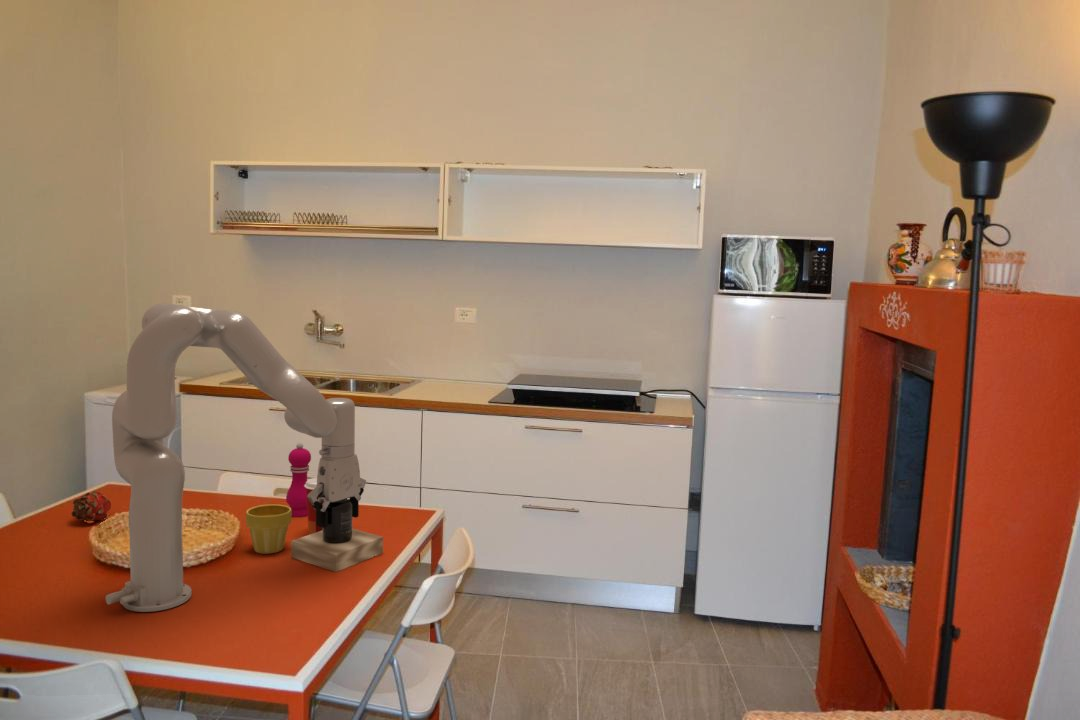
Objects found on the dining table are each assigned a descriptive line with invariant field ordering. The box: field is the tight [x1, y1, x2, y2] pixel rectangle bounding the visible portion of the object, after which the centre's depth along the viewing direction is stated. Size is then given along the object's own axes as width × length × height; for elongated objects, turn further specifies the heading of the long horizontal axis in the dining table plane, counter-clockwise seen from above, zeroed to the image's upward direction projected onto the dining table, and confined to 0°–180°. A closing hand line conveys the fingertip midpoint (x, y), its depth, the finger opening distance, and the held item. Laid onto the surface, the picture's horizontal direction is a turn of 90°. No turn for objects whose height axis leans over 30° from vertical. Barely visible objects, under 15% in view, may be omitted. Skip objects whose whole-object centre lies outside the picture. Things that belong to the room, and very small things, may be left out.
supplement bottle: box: [323, 498, 353, 544], centre depth 183 cm, size 7×7×12 cm
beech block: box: [290, 527, 384, 573], centre depth 184 cm, size 15×15×4 cm
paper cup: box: [304, 477, 324, 535], centre depth 198 cm, size 8×8×14 cm
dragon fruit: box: [71, 490, 112, 522], centre depth 202 cm, size 8×8×12 cm
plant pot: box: [245, 503, 293, 555], centre depth 186 cm, size 10×10×10 cm
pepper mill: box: [285, 442, 312, 518], centre depth 213 cm, size 7×7×20 cm
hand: (337, 521), depth 183 cm, fingers open, 9 cm apart
